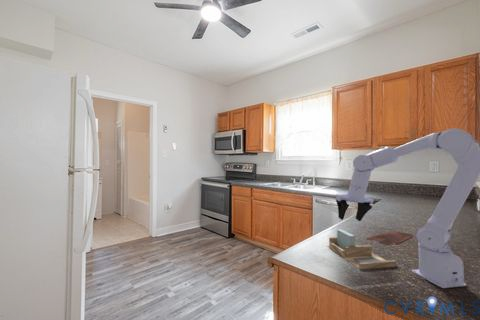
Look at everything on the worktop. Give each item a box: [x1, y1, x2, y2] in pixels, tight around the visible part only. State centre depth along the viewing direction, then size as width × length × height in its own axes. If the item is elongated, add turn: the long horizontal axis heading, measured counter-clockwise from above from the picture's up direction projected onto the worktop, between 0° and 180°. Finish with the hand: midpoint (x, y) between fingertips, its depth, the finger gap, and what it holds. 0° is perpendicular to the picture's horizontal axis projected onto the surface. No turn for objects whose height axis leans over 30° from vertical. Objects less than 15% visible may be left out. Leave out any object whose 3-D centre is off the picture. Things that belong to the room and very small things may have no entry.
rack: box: [326, 236, 398, 270], centre depth 80 cm, size 20×13×4 cm, turn 9°
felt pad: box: [354, 257, 380, 263], centre depth 74 cm, size 6×8×1 cm
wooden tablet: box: [366, 231, 414, 246], centre depth 99 cm, size 26×2×10 cm
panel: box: [336, 228, 356, 251], centre depth 84 cm, size 8×2×7 cm, turn 9°
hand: (349, 219), depth 85 cm, fingers open, 7 cm apart
